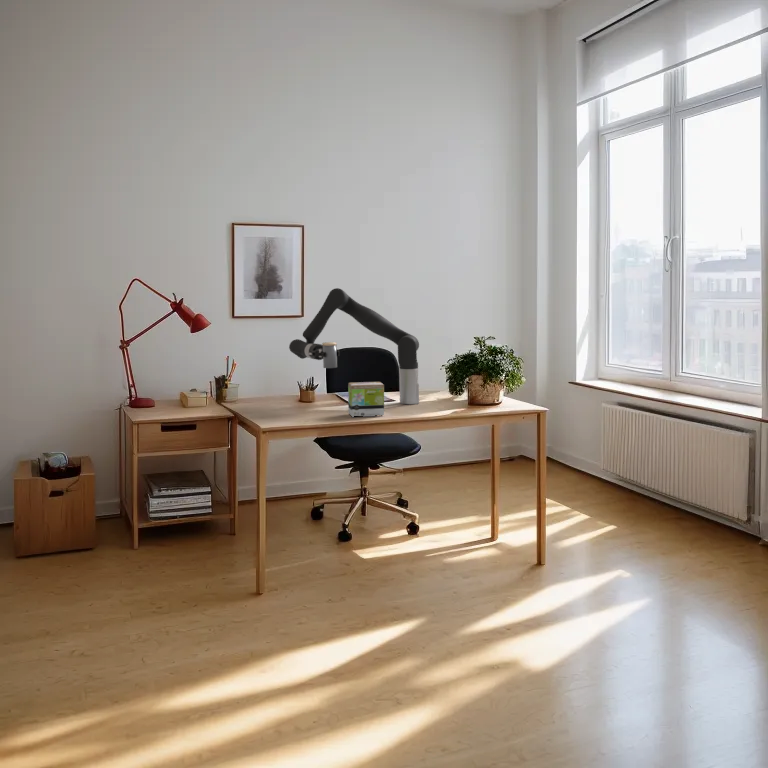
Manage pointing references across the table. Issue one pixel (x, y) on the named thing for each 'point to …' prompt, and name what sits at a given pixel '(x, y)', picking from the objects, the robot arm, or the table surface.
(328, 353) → the canister
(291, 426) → the table surface
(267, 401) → the table surface
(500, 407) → the table surface
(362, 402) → the tea box
